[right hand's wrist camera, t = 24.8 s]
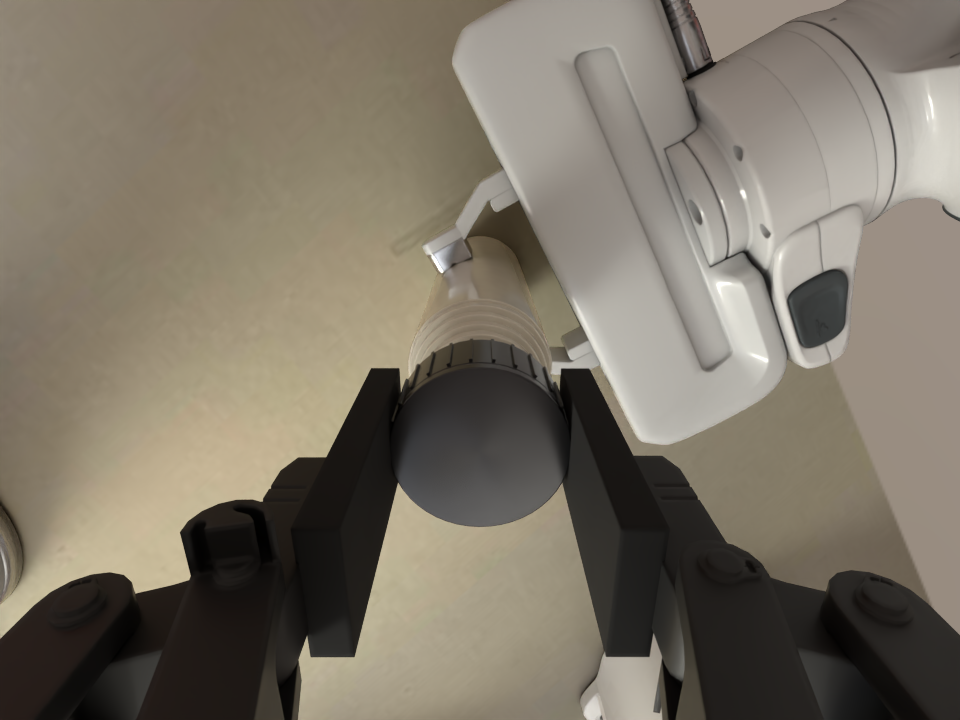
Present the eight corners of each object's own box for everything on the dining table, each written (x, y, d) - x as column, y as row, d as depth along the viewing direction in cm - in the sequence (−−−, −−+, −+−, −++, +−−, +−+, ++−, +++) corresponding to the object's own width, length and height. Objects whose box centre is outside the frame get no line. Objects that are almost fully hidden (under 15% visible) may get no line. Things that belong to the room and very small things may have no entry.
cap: (391, 473, 15) (379, 518, 13) (406, 325, 14) (394, 352, 12) (545, 492, 16) (554, 538, 14) (577, 348, 14) (592, 378, 12)
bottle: (421, 285, 31) (349, 450, 14) (472, 218, 29) (461, 308, 12) (487, 334, 32) (495, 542, 15) (538, 270, 30) (613, 420, 13)
